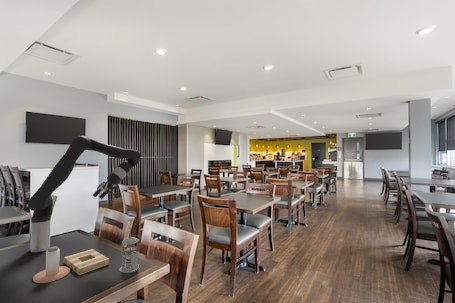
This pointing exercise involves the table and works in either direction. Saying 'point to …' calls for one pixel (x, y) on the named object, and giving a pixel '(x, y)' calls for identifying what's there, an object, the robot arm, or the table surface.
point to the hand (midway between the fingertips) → (97, 197)
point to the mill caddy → (86, 261)
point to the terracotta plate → (43, 278)
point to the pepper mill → (52, 261)
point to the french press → (129, 254)
